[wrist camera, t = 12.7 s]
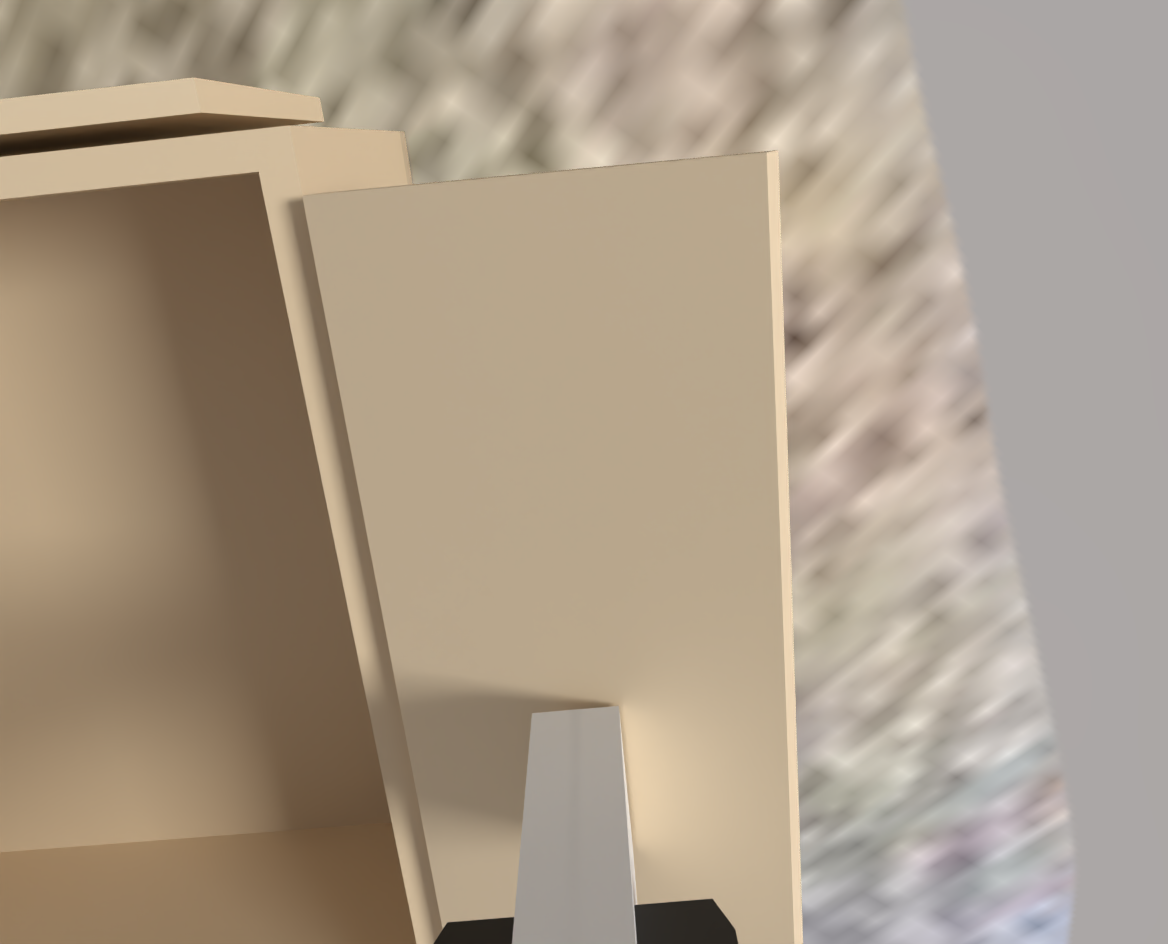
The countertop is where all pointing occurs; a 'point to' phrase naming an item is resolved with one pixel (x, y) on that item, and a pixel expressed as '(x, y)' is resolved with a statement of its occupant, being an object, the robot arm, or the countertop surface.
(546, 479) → the flap
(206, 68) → the countertop surface
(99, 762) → the carton
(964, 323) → the countertop surface
